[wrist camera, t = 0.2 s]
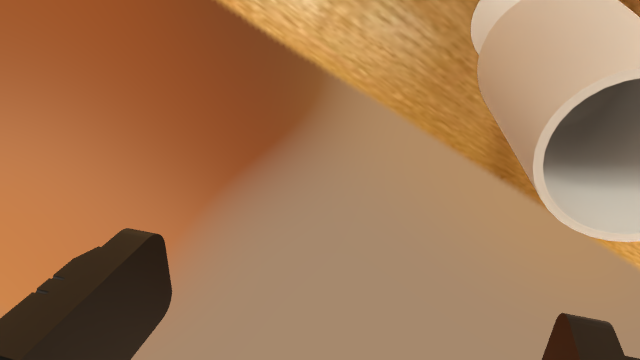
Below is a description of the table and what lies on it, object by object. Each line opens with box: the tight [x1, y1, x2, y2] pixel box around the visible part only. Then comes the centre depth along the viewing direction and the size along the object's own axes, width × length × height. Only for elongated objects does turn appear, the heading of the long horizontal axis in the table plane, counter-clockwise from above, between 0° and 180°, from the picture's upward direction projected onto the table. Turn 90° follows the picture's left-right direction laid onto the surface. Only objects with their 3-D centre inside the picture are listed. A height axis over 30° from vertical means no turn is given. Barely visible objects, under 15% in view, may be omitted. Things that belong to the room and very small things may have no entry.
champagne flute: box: [471, 0, 640, 242], centre depth 22 cm, size 7×7×24 cm
